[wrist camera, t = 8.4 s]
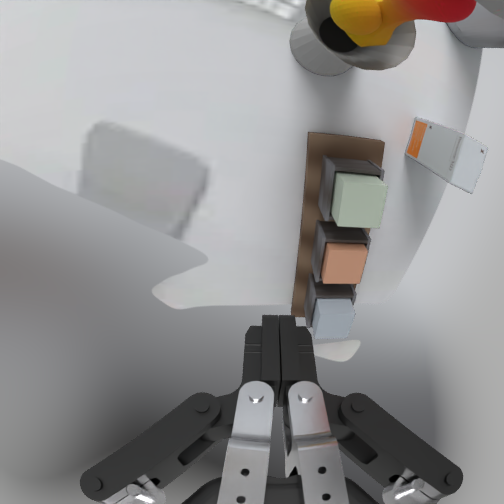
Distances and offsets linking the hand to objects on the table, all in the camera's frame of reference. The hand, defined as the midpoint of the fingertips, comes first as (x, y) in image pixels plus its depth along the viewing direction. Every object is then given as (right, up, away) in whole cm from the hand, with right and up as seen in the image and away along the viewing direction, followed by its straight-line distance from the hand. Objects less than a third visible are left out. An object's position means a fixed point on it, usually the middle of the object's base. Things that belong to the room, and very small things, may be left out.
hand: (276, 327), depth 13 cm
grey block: (+11, -4, +30) cm, 32 cm away
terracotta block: (+11, +5, +26) cm, 29 cm away
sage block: (+11, +12, +20) cm, 26 cm away
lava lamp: (+8, +29, +14) cm, 33 cm away
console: (+11, +6, +28) cm, 30 cm away
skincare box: (+22, +19, +19) cm, 35 cm away
